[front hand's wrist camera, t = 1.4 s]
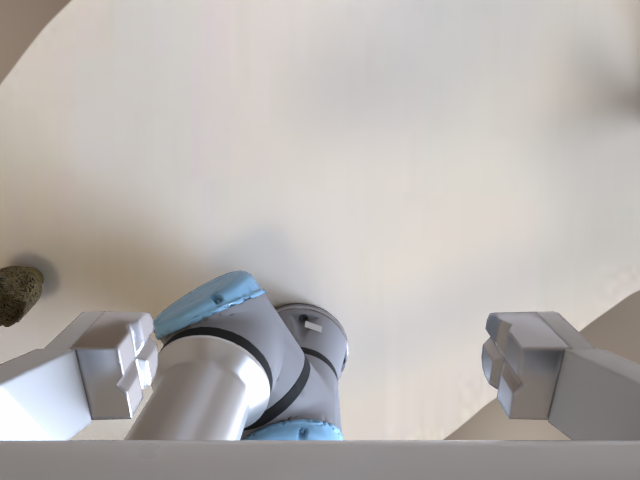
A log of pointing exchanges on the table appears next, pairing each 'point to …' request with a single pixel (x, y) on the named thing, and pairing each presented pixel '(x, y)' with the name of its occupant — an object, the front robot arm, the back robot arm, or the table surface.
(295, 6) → the table surface
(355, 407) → the table surface
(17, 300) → the olive tapered piece
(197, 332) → the back robot arm
